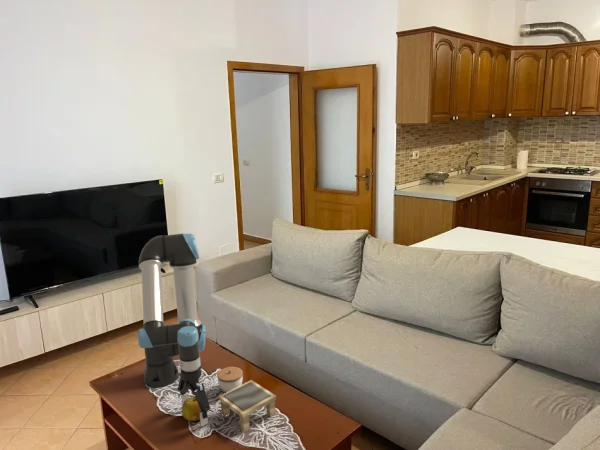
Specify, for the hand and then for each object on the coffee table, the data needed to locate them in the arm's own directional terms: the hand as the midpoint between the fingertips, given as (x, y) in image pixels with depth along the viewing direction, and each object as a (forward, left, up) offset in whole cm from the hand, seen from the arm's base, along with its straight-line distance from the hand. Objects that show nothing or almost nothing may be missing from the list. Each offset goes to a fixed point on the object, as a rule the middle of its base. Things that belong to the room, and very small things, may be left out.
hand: (195, 416), depth 179 cm
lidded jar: (-6, +21, -1) cm, 22 cm away
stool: (+13, +16, -1) cm, 21 cm away
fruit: (0, 0, -1) cm, 1 cm away
